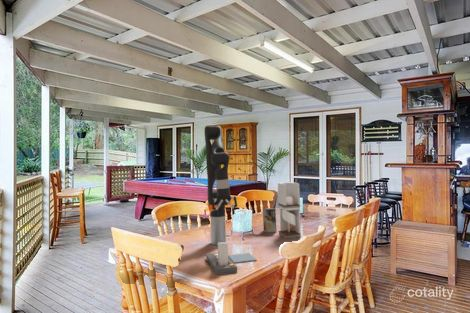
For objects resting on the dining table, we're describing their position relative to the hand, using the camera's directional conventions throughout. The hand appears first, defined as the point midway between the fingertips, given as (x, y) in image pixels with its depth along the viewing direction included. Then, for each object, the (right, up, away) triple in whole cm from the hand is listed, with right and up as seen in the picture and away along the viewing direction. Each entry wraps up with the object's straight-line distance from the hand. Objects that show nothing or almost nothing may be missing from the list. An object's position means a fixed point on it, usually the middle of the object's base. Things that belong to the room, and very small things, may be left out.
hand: (225, 215), depth 184 cm
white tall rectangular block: (0, -21, -28) cm, 34 cm away
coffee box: (+30, -20, +46) cm, 59 cm away
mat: (+9, -20, -13) cm, 26 cm away
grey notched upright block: (+42, -20, +34) cm, 58 cm away
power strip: (-2, -21, -21) cm, 29 cm away
